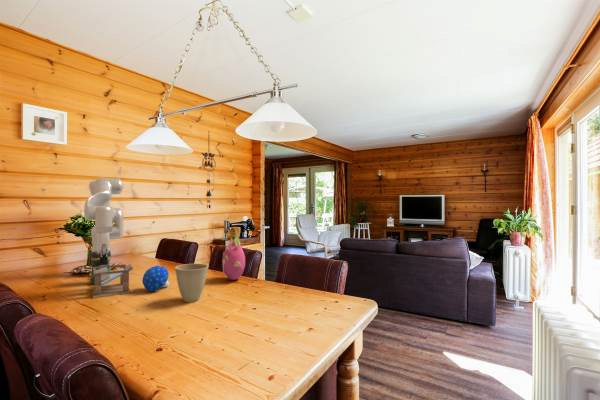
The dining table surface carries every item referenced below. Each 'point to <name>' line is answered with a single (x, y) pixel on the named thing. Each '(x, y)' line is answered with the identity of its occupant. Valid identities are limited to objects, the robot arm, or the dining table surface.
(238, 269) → the pink dragon fruit
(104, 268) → the light grey cube
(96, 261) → the coffee jar
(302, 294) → the dining table surface
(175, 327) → the dining table surface
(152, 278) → the blue green-spotted dome
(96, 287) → the frame
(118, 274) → the trapdoor
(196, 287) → the plant pot
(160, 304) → the dining table surface
